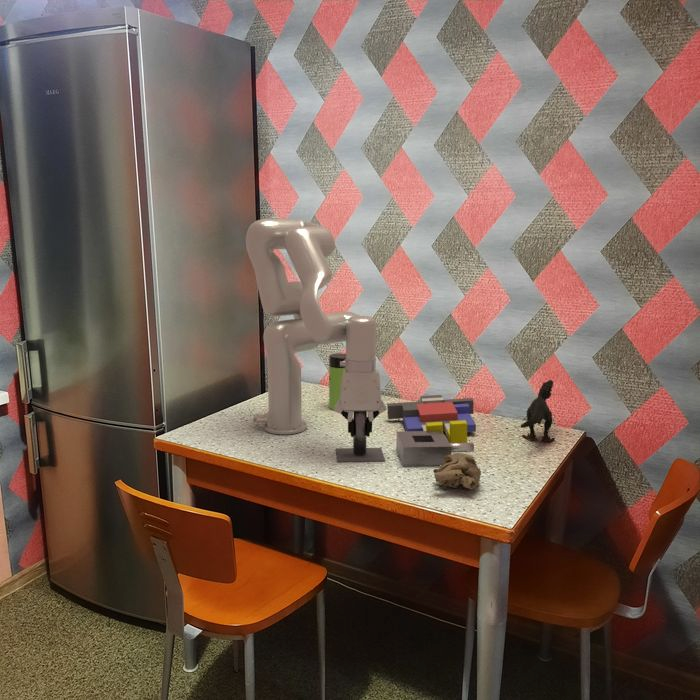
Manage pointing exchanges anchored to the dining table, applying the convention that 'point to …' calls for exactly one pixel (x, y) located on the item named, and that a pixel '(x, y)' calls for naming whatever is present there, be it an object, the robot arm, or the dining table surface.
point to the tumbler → (335, 377)
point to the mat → (360, 455)
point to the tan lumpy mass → (458, 471)
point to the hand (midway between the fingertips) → (359, 434)
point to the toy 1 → (436, 416)
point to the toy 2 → (540, 413)
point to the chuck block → (426, 448)
